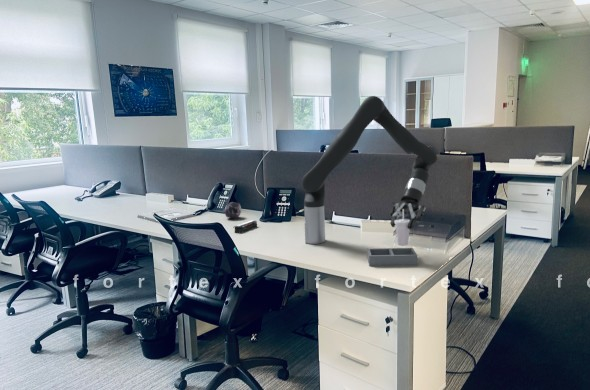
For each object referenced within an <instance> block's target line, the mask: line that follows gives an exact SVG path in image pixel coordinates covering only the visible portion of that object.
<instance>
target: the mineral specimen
mask: <svg viewBox="0 0 590 390" xmlns="http://www.w3.org/2000/svg"><path fill="white" fill-rule="evenodd" d="M241 214H242V207H241V204H240V202H235V201H231V202H229V203H227V204H226V206H225V208H224V215H225V217H226V218H229V219H237V218H239V217H240V215H241Z"/></svg>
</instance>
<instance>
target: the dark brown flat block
mask: <svg viewBox="0 0 590 390" xmlns="http://www.w3.org/2000/svg"><path fill="white" fill-rule="evenodd" d="M257 227H258V224H257V220H248V221H245V222H243V223H240V224H237V225H235V226H233V229H234V234H241V233H244V232H246V231H250V230H252V229H254V228H255V229H256V228H257Z"/></svg>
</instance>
